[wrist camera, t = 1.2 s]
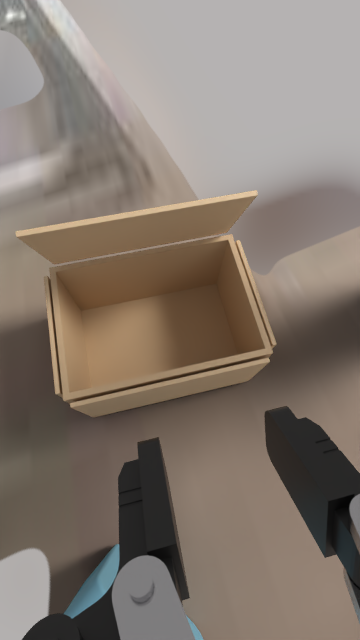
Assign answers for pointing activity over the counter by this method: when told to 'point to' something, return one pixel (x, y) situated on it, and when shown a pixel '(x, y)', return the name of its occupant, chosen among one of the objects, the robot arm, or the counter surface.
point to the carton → (155, 325)
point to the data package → (103, 587)
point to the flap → (137, 228)
